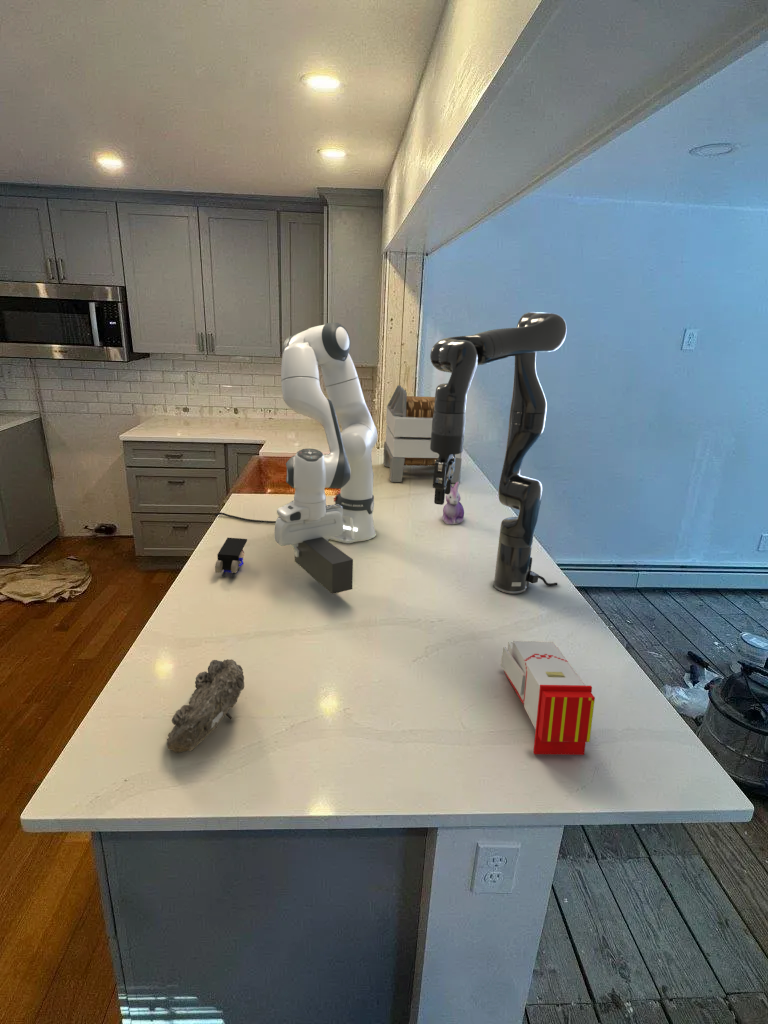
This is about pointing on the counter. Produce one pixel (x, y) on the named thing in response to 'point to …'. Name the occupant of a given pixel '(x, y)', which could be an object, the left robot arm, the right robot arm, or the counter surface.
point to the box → (326, 564)
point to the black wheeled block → (230, 556)
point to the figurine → (453, 507)
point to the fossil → (206, 705)
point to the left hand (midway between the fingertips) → (309, 553)
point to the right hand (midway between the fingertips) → (442, 498)
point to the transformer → (411, 435)
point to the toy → (550, 696)
